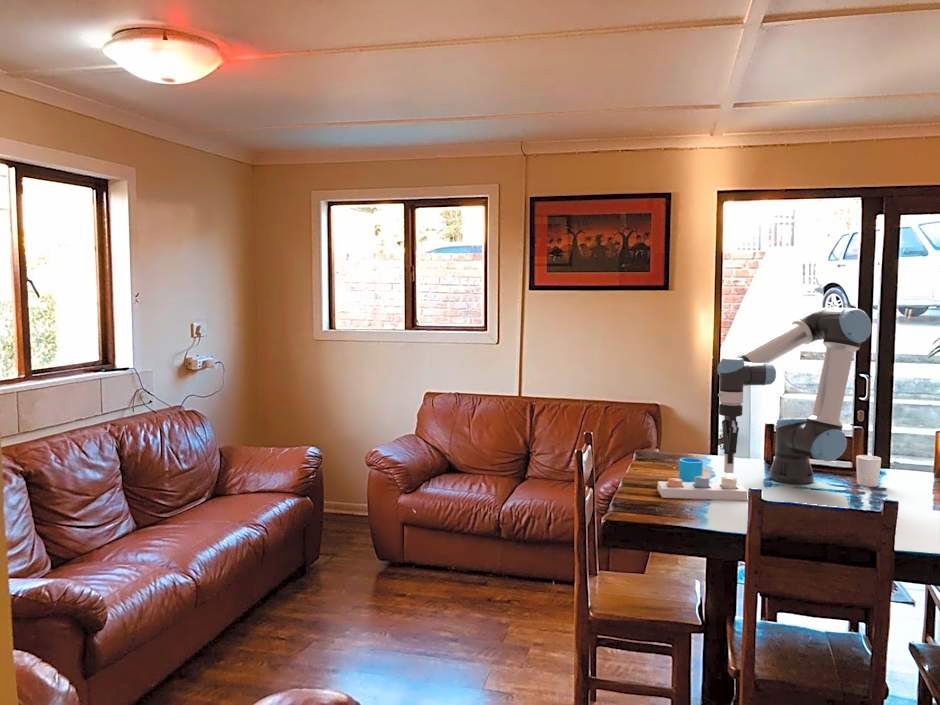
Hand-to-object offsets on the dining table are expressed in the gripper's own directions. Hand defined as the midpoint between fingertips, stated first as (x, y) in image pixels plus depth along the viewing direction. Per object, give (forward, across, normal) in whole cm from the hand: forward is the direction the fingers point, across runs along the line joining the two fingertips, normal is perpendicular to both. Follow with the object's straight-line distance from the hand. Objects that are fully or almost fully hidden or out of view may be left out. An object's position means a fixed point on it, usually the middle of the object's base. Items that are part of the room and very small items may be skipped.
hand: (728, 472), depth 250 cm
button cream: (+6, 0, 0) cm, 6 cm away
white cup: (+9, -21, +54) cm, 59 cm away
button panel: (+8, 0, -9) cm, 12 cm away
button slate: (+6, 0, -9) cm, 11 cm away
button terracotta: (+7, 0, -18) cm, 19 cm away
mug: (+8, -19, -10) cm, 23 cm away
